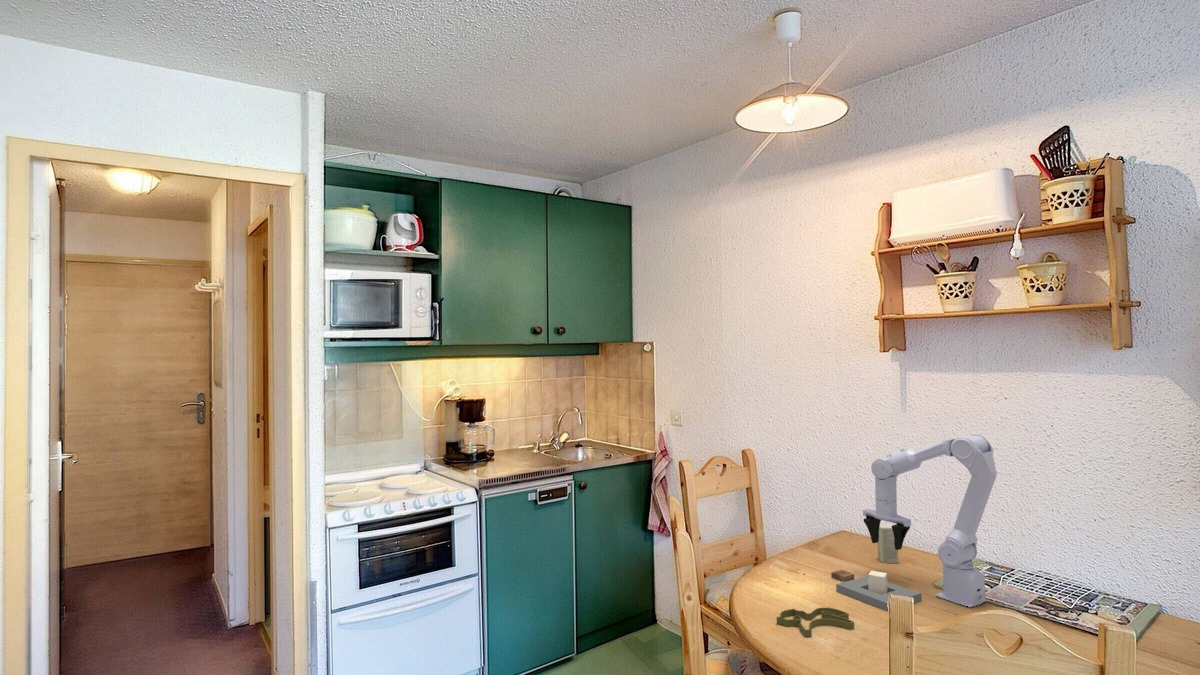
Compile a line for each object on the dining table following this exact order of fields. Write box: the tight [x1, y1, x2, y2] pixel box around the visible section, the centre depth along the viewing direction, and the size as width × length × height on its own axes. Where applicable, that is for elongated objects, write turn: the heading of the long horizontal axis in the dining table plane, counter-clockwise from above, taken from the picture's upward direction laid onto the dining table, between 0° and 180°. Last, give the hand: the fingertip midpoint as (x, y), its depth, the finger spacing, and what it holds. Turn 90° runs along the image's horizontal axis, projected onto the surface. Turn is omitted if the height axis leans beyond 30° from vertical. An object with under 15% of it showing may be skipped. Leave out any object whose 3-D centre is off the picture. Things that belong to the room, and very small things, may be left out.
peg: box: [867, 570, 888, 595], centre depth 174 cm, size 4×4×6 cm
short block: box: [830, 569, 855, 583], centre depth 187 cm, size 4×4×2 cm
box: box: [877, 524, 899, 564], centre depth 204 cm, size 5×4×11 cm
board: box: [835, 575, 922, 612], centre depth 174 cm, size 16×14×2 cm
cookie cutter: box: [776, 607, 855, 638], centre depth 156 cm, size 18×12×2 cm, turn 109°
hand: (886, 545), depth 188 cm, fingers open, 7 cm apart
